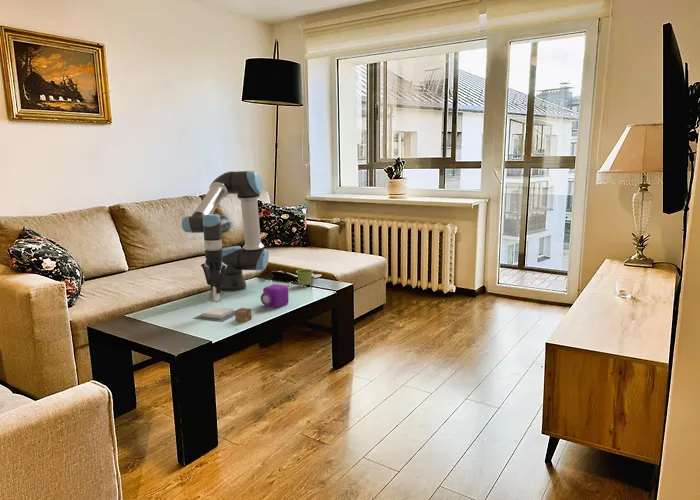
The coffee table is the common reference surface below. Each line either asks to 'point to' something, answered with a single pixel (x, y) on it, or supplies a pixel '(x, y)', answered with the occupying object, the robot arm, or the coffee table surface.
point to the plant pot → (304, 276)
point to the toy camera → (275, 295)
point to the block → (243, 315)
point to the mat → (214, 319)
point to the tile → (217, 313)
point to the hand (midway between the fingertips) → (216, 300)
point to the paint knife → (312, 276)
